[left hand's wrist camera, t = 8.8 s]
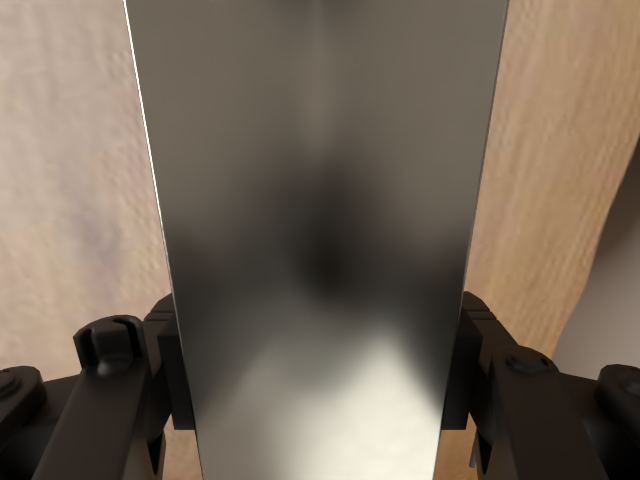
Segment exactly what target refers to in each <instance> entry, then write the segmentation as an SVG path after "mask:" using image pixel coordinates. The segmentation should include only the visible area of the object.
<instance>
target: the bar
mask: <svg viewBox="0 0 640 480" xmlns="http://www.w3.org/2000/svg"><path fill="white" fill-rule="evenodd" d="M123 3H124V9H125V15H126V21H127V27H128V33H129V39H130V45H131V51H132V57H133V63H134V69H135V75H136V81H137V87H138V93H139V99H140V105H141V111H142V117H143V123H144V129H145V135H146V141H147V147H148V153H149V159H150V165H151V171H152V177H153V183H154V189H155V195H156V201H157V207H158V213H159V219H160V225H161V231H162V237H163V243H164V249H165V255H166V261H167V267H168V273H169V279H170V285H171V291H172V297H173V303H174V309H175V315H176V321H177V327H178V333H179V339H180V345H181V351H182V357H183V363H184V369H185V375H186V381H187V387H188V393H189V399H190V405H191V411H192V417H193V423H194V429H195V435H196V441H197V447H198V453H199V458H200V464H201V470H202V476H203V480H434V474H435V468H436V462H437V455H438V449H439V443H440V436H441V430H442V424H443V417H444V411H445V405H446V398H447V392H448V386H449V380H450V373H451V367H452V361H453V354H454V348H455V342H456V335H457V329H458V323H459V316H460V310H461V304H462V297H463V291H464V285H465V278H466V272H467V266H468V259H469V253H470V247H471V241H472V234H473V228H474V222H475V215H476V209H477V203H478V196H479V190H480V184H481V177H482V171H483V165H484V158H485V152H486V146H487V139H488V133H489V127H490V120H491V114H492V108H493V102H494V95H495V89H496V83H497V76H498V70H499V64H500V57H501V51H502V45H503V38H504V32H505V26H506V19H507V13H508V7H509V0H123Z"/></svg>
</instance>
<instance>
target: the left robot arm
mask: <svg viewBox="0 0 640 480" xmlns="http://www.w3.org/2000/svg"><path fill="white" fill-rule="evenodd" d="M73 340H74V343H75V346H76V350H77V353H78V357H79V360H80V364H81V367H82V370H81V373H80V374H78V375H74V376H70V377H65V378H60V379H56V380H51V381H46V382H43V380H42V377H41V374H40V371H39V370H37V369H36V368H35V367H31V366H18V367H11V368H6V369H3V370H0V480H162V475H163V467H164V458H165V449H166V439H165V434H164V427H165V425H166V422H167V420H168V418H169V416H170V414H172V420H173V425H174V430H195V429H194V423H193V417H192V411H191V405H190V399H189V393H188V387H187V381H186V375H185V369H184V363H183V357H182V351H181V345H180V339H179V333H178V327H177V321H176V315H175V309H174V303H173V297H172V293H170V294H169V295H167V296H166V297H164V298H162V299H161V300H159V301H158V302H157V303H156V305H155V306H154V307H153V308H152V310H151V311H150V313H148V315H147V316H146V317H145V318H144V321H142V322H141V320H140V319H138V318H137V317H135V316H130V315H114V316H110V317H105V318H101V319H99V320H96V321H94V322H91V323H89V324H88V325H86V326H85V327H83V328H81V329H80V330H79V331H78V332H77V333H76V334H75V335H74V336H73ZM469 412H470V414H471V416H472V418H473V420H474V423H475V425H476V427H477V429H476V434H475V438H474V443H473V448H472V453H471V458H470V464H469V467H472V468H474V466H475V462H476V466H477V474H478V480H640V369H639V368H637V367H633V366H627V365H620V364H613V365H606V366H605V367H604V368H602V369H601V371H600V374H599V377H598V380H592V379H587V378H583V377H578V376H573V375H568V374H564V373H561V372H559V370H558V368H557V367H556V365H555V364H554V363H553V361H552V360H550V359H549V358H548V357H546V356H545V355H543V354H542V353H540V352H538V351H536V350H533V349H531V348H528V347H524V346H520V345H518V344H517V343H516V341H515V340H514V339H513V338H512V336H511V335H510V334H509V333H508V331H507V330H506V329H505V328H504V327H503V325H502V324H501V323H500V322H499V320H497V319H496V317H495V315H494V314H493V313H492V312H490V309H489V308H488V307H487V306H486V304H485V303H484V302H483V301H482V300H481V299H480V298H478V297H476V296H475V295H473V294H472V293H470V292H468V291H463V297H462V304H461V310H460V316H459V323H458V329H457V335H456V342H455V348H454V354H453V361H452V367H451V373H450V380H449V386H448V392H447V398H446V405H445V411H444V417H443V424H442V430H466V425H467V420H468V414H469Z"/></svg>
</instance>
